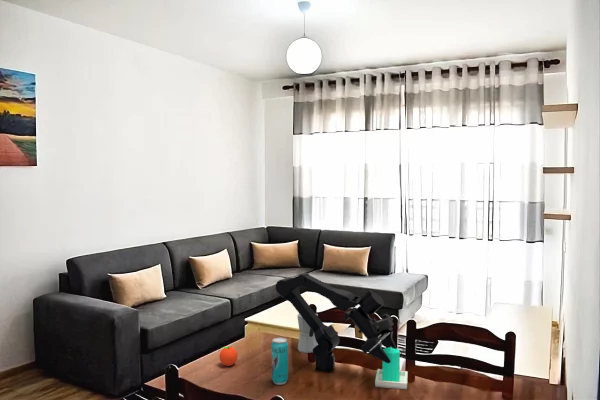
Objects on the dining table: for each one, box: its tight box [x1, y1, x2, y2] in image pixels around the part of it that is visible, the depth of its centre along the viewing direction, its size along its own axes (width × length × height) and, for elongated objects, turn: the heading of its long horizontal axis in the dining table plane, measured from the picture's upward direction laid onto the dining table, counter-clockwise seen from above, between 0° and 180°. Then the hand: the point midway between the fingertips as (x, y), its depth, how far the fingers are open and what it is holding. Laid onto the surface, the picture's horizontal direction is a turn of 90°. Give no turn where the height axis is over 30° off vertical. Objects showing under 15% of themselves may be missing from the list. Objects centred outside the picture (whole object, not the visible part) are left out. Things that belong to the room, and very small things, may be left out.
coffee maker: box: [297, 312, 319, 354], centre depth 201 cm, size 15×9×18 cm, turn 14°
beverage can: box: [271, 337, 289, 386], centre depth 170 cm, size 6×6×15 cm
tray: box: [374, 368, 409, 390], centre depth 169 cm, size 11×11×2 cm
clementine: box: [218, 346, 239, 367], centre depth 186 cm, size 8×7×7 cm
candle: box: [381, 347, 401, 382], centre depth 169 cm, size 6×6×12 cm
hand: (393, 358), depth 169 cm, fingers open, 9 cm apart
